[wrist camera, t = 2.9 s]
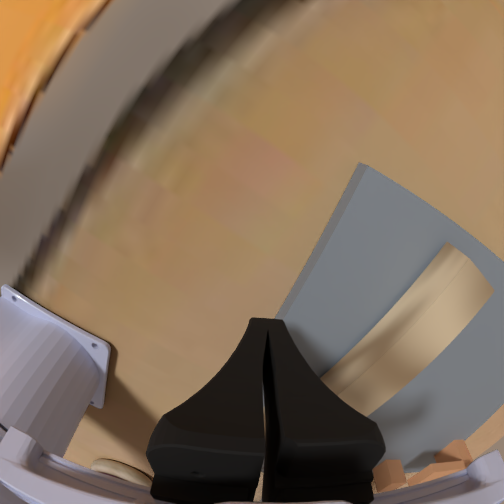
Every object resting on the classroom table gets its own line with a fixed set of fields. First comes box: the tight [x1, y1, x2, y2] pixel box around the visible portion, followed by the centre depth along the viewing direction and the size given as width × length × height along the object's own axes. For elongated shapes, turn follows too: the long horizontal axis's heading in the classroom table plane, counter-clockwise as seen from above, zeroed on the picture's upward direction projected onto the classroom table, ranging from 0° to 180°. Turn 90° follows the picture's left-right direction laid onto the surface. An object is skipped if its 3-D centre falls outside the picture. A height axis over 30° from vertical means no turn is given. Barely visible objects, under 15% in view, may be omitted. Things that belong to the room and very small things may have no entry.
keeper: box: [372, 440, 473, 492], centre depth 19 cm, size 9×6×5 cm, turn 66°
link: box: [260, 242, 495, 475], centre depth 14 cm, size 19×5×2 cm, turn 146°
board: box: [263, 163, 504, 473], centre depth 17 cm, size 26×22×1 cm
